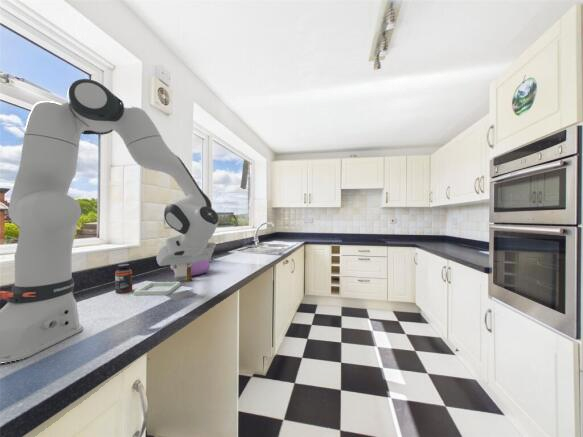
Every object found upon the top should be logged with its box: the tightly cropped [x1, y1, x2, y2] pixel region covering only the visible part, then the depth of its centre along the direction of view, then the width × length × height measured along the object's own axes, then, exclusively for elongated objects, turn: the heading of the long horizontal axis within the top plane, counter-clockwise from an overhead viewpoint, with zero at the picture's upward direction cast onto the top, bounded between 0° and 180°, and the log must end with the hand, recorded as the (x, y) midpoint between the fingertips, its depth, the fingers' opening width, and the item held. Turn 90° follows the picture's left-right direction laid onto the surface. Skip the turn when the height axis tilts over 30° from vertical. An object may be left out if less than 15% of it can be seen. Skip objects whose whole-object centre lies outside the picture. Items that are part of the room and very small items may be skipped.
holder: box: [165, 289, 199, 302], centre depth 97 cm, size 9×9×1 cm
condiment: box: [178, 266, 193, 283], centre depth 119 cm, size 7×8×12 cm
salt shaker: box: [174, 263, 187, 282], centre depth 97 cm, size 4×4×10 cm
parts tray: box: [133, 281, 181, 296], centre depth 103 cm, size 13×13×2 cm
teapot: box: [172, 260, 210, 278], centre depth 133 cm, size 23×21×15 cm
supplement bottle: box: [114, 263, 133, 294], centre depth 104 cm, size 6×6×11 cm
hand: (180, 266), depth 97 cm, fingers closed on salt shaker, 4 cm apart
